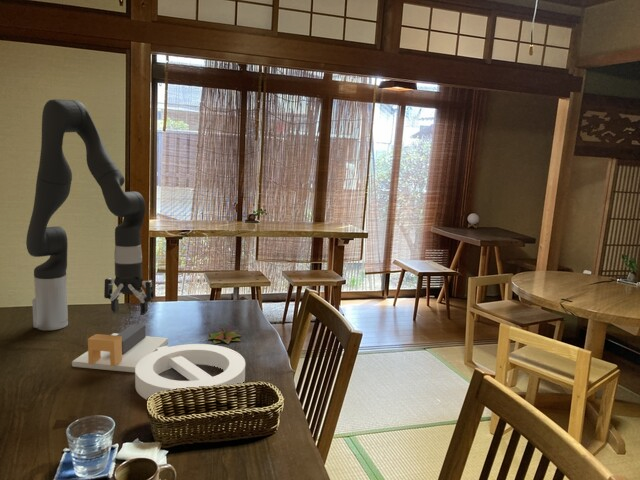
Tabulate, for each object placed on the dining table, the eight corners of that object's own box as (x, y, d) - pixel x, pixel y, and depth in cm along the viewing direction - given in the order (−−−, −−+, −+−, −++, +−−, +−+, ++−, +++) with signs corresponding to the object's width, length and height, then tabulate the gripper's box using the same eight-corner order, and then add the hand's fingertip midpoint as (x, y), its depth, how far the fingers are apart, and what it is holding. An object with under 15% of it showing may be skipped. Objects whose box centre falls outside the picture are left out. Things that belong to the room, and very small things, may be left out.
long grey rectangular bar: (110, 353, 140) (109, 340, 139) (133, 336, 154) (133, 324, 153) (123, 354, 140) (123, 341, 139) (145, 337, 153) (145, 325, 153)
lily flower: (246, 344, 157) (247, 330, 156) (209, 348, 153) (209, 334, 152) (238, 331, 168) (238, 318, 167) (203, 334, 163) (203, 321, 163)
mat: (72, 366, 134) (72, 361, 134) (113, 337, 156) (113, 333, 155) (135, 372, 132) (135, 367, 132) (168, 342, 154) (168, 338, 154)
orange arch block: (88, 363, 132) (87, 339, 131) (96, 357, 136) (96, 333, 135) (114, 366, 132) (114, 341, 130) (122, 360, 136) (121, 336, 134)
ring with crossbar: (158, 356, 144) (158, 341, 143) (252, 362, 144) (253, 347, 143) (116, 403, 117) (116, 385, 116) (232, 411, 116) (233, 392, 115)
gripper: (98, 261, 140) (100, 315, 143) (145, 264, 139) (146, 319, 141) (112, 256, 148) (113, 308, 150) (157, 259, 146) (158, 311, 149)
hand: (129, 313), depth 146 cm, fingers open, 8 cm apart
